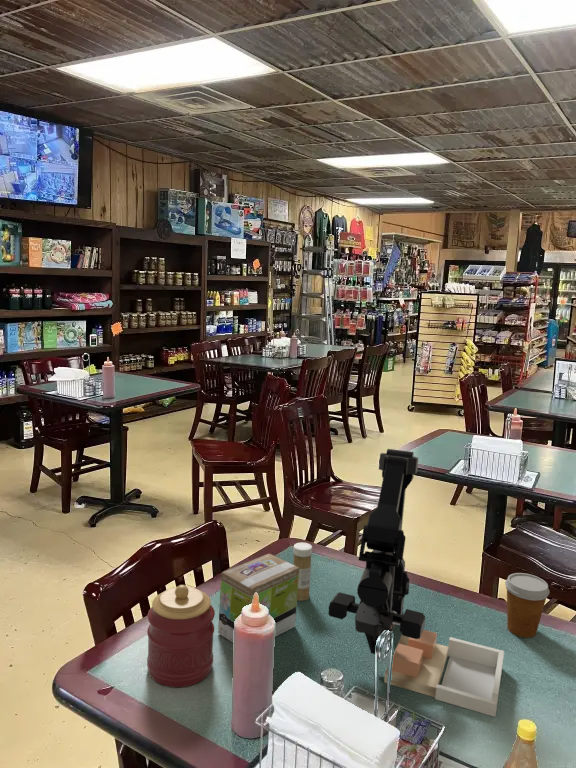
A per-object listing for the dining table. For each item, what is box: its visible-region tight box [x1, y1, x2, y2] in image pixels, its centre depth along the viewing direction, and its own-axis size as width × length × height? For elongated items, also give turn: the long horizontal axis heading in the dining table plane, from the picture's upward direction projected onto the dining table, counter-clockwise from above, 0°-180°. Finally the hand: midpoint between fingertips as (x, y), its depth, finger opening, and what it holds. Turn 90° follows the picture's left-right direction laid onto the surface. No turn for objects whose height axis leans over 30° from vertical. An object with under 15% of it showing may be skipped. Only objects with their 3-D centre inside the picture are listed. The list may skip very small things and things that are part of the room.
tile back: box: [408, 629, 438, 659], centre depth 132 cm, size 5×5×3 cm
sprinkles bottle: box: [292, 542, 313, 602], centre depth 154 cm, size 5×5×13 cm
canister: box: [146, 584, 216, 688], centre depth 124 cm, size 13×13×18 cm
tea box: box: [217, 553, 299, 644], centre depth 139 cm, size 15×10×15 cm, turn 137°
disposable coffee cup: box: [504, 572, 551, 639], centre depth 144 cm, size 10×10×12 cm
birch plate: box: [384, 634, 448, 698], centre depth 129 cm, size 10×15×2 cm, turn 157°
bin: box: [434, 636, 505, 718], centre depth 125 cm, size 11×16×4 cm
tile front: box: [392, 643, 423, 677], centre depth 126 cm, size 5×5×3 cm
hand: (373, 652), depth 129 cm, fingers closed
